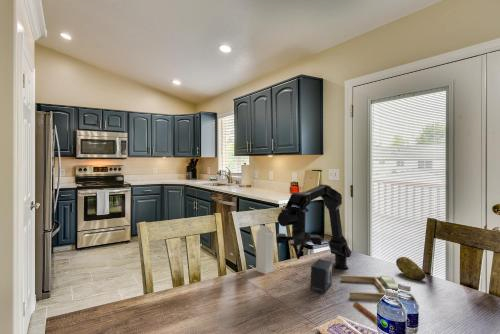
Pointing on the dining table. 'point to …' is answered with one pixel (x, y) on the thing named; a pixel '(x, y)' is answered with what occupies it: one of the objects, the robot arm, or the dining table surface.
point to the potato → (410, 268)
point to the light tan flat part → (380, 282)
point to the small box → (321, 276)
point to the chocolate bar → (365, 312)
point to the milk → (264, 250)
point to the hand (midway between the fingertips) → (298, 258)
